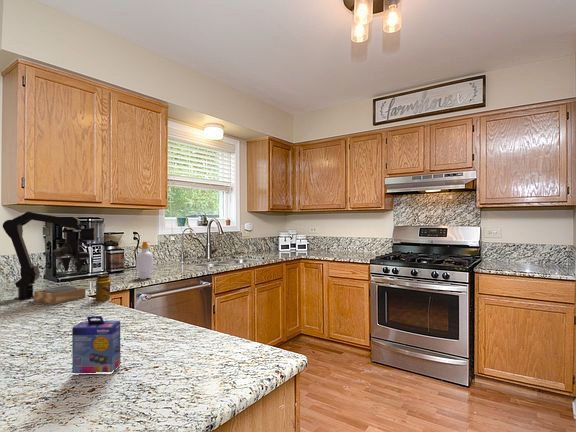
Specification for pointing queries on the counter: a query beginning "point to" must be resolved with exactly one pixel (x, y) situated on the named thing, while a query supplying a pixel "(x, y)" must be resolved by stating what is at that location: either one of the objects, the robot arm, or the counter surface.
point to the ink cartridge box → (95, 346)
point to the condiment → (102, 289)
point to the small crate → (60, 289)
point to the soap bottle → (144, 262)
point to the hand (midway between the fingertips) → (72, 271)
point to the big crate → (59, 296)
